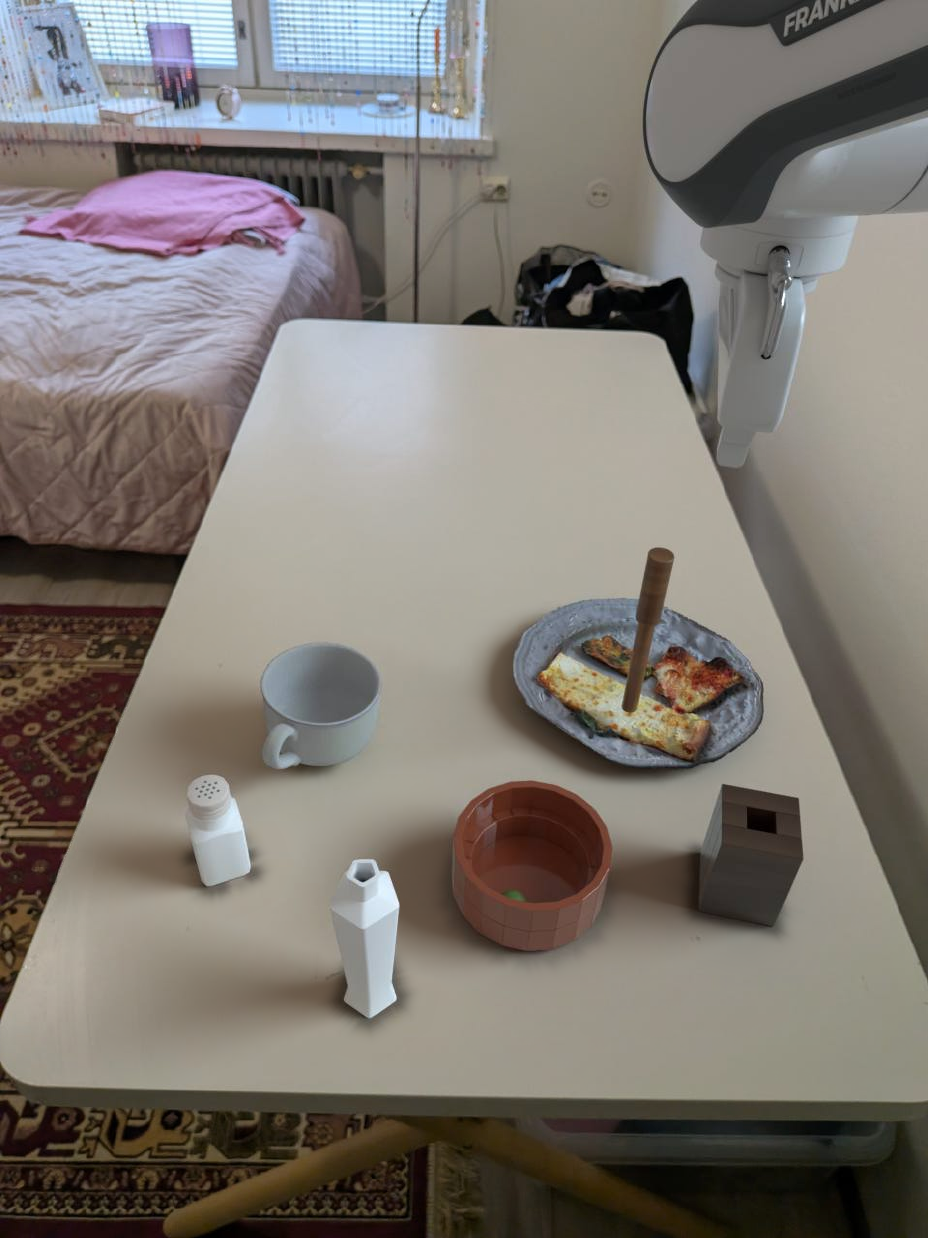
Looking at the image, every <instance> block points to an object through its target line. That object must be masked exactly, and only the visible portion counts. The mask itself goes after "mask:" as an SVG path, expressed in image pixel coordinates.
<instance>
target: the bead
mask: <svg viewBox="0 0 928 1238" xmlns="http://www.w3.org/2000/svg"><path fill="white" fill-rule="evenodd" d="M502 895H504V896H506V897H508V898H510V899H515V900H520V901H524V902H526V900H525V898H524V896H523V895H522V894H521V893H519V892H518V891H515V890H507V891H505V892H503V893H502Z"/></svg>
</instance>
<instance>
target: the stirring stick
mask: <svg viewBox="0 0 928 1238" xmlns="http://www.w3.org/2000/svg"><path fill="white" fill-rule="evenodd" d="M674 561H675V554H674V552H673V551H671V550H670V549H668V548H666V547H658V546H657V547H653V548H650V549H649V550H648V551H647V557H646V562H645V565H644V571H643V577H642V582H641V587H640V591H639V597H638V599H639V601H638V606H637V611H636V616H635V618H636V620H637V622H638V627H637V631H636V636H635V641H634V646H633V651H632V656H631V661H630V666H629V671H628V676H627V681H626V686H625V691H624V696H623V701H622V706H621V707H622V709H623V710H624V711H625V712H628V713H633V712H635V711H636V710H637V707H638V702H639V698H640V693H641V689H642V684H643V679H644V675H645V670H646V666H647V661H648V656H649V652H650V647H651V643H652V638H653V633H654V629H655V626H656V625H658V624H659V623H660V620H661V616H662V611H663V607H665V603H666V598H667V592H668V588H669V584H670V580H671V575H672V570H673V565H674Z"/></svg>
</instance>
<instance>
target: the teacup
mask: <svg viewBox="0 0 928 1238" xmlns="http://www.w3.org/2000/svg"><path fill="white" fill-rule="evenodd" d="M381 677H382V676H381V673H380V671H379V669H378V668H377V665H375V663H373V661H372V660H371V659H370V658H368V656H366V655H365V654H364V653H362V652H361V651H359V650H357V649H355V648H354V647H350V646H347V645H344V644H340V643H334V642H325V641H324V642H323V641H322V642H309V643H304V644H300V645H295V646H293V647H291V648H288V649H286V650H284V651H282V652H280V653H279V654H278V655H276V656H275V657H273V658H272V659H271V660H270V662H268V664H266V667H265V668H264V670H263V672H262V674H261V677H260V682H259V683H260V685H259V686H260V694H261V697H262V706H263V715H264V722H265V727H266V732H267V735H266V737H265V740H264V742H263V745H262V750H261V757H262V760H263V762H264V764H265V765H266V766H268V767H270V768H273V769H275V770H285V769H287V768H290V767H296V766H298V765H299V764H302V765H307V766H311V767H328V766H335V765H338V764H339V765H340V764H341V763H345V762H347V761H349V760H352V759H353V758H355V757H357V755H359V754H360V753H362V752H363V751H364V749H365V748H366V747H368V745H369V743H370V742H371V740H372V738H373V736H374V734H375V732H376V728H377V725H378V718H379V707H380V696H381V691H382V678H381ZM280 753H281V754H280Z"/></svg>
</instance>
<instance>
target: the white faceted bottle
mask: <svg viewBox="0 0 928 1238" xmlns="http://www.w3.org/2000/svg"><path fill="white" fill-rule="evenodd" d="M329 911H330V915H331V919H332V924H333V929H334V931H335V936H336V937H335V938H336V941H337V945H338V949H339V955H340V958H341V962H342V966H343V970H344V977H345V979H346V984H347V987H346V988H347V989H346V991H345V994H344V996H343V1001H344V1002H345V1004H347V1005H349V1006H350V1007H351V1008H353V1009H354V1010H355V1011H357V1012H358V1013H360V1014H361V1015H363V1016H364V1017H365V1018H367V1019H372V1018H374V1017H375V1016H377V1014H379V1013H381V1012H382V1011H383V1010H385V1009H386V1008H388V1007H389V1006H390V1005H392V1004H394V1003H395V1002H396V1001H397V998H398V997H397V994H396V991H395V988H394V985H393V981H392V980H393V971H394V961H395V953H396V952H395V951H396V945H397V944H396V942H397V934H398V925H399V924H398V923H399V913H400V901H399V899H398V896H397V892H396V890H395V887H394V884H393V882H392V879H391V876H390V873H389V872H388V871H387V870H379V865H378V863H377V861H376V860H375V859H372V858H365V859H364V858H363V859H360V858H359V859H353V861H352V862H351V864H350V866H349V867H348V870H347V871H345V872H343V874H342V876H341V879H340V881H339V883H338V885H337V887H336V889H335V891H334V894H333V896H332V898H331V900H330V902H329Z"/></svg>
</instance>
